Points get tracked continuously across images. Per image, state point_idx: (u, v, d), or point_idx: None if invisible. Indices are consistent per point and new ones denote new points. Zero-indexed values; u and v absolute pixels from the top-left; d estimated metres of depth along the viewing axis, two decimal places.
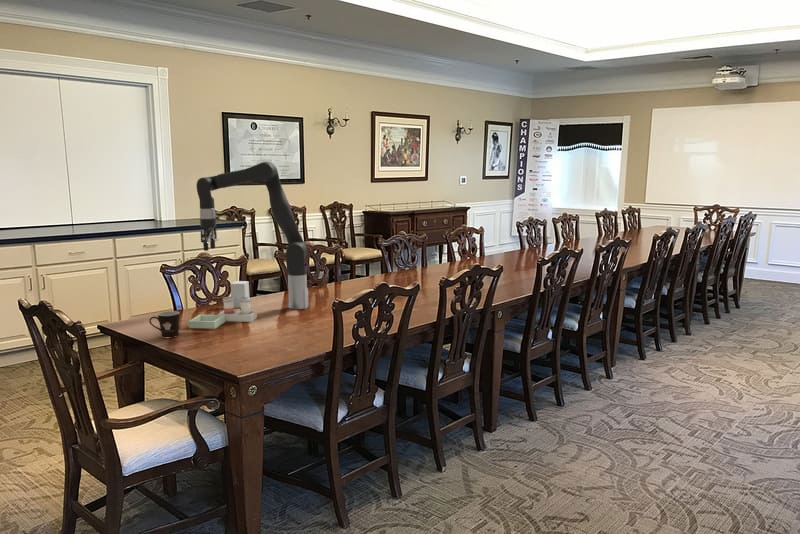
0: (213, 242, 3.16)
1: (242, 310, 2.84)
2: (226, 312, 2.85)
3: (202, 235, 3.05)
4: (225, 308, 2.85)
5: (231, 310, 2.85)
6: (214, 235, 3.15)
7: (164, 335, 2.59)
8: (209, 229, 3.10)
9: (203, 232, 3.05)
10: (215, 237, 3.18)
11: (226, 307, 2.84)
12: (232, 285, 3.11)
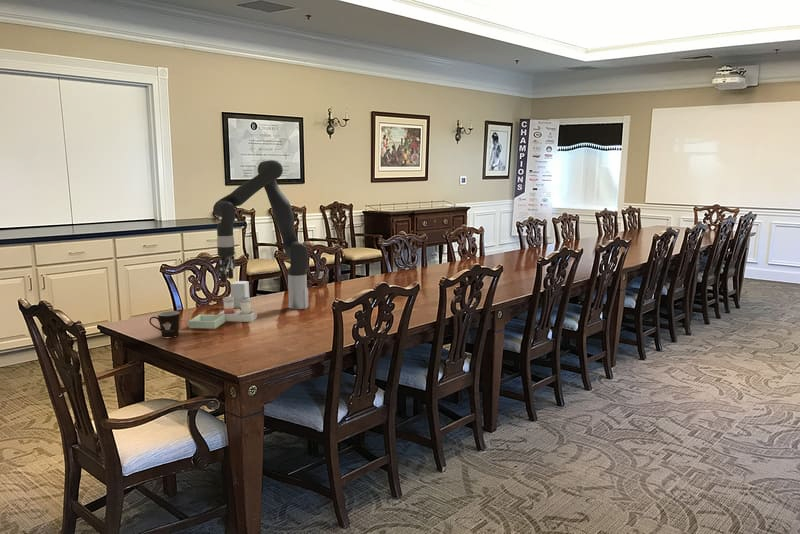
0: (231, 272, 2.88)
1: (242, 310, 2.84)
2: (226, 312, 2.85)
3: (220, 265, 2.76)
4: (225, 308, 2.85)
5: (231, 310, 2.85)
6: (232, 264, 2.86)
7: (164, 335, 2.59)
8: (227, 258, 2.81)
9: (221, 262, 2.76)
10: (233, 266, 2.89)
11: (226, 307, 2.84)
12: (232, 285, 3.11)
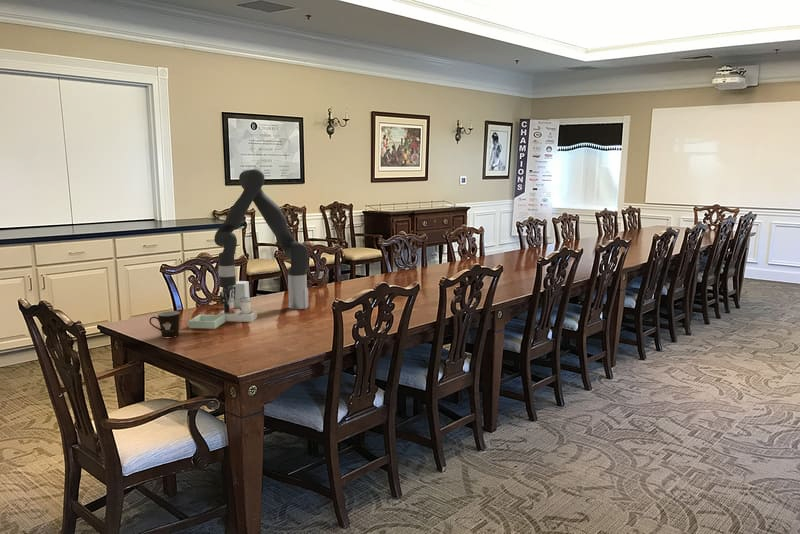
0: None
1: (242, 310, 2.84)
2: None
3: (222, 297, 2.80)
4: None
5: (231, 310, 2.85)
6: (233, 294, 2.88)
7: (164, 335, 2.59)
8: (229, 287, 2.84)
9: (223, 294, 2.79)
10: None
11: None
12: None
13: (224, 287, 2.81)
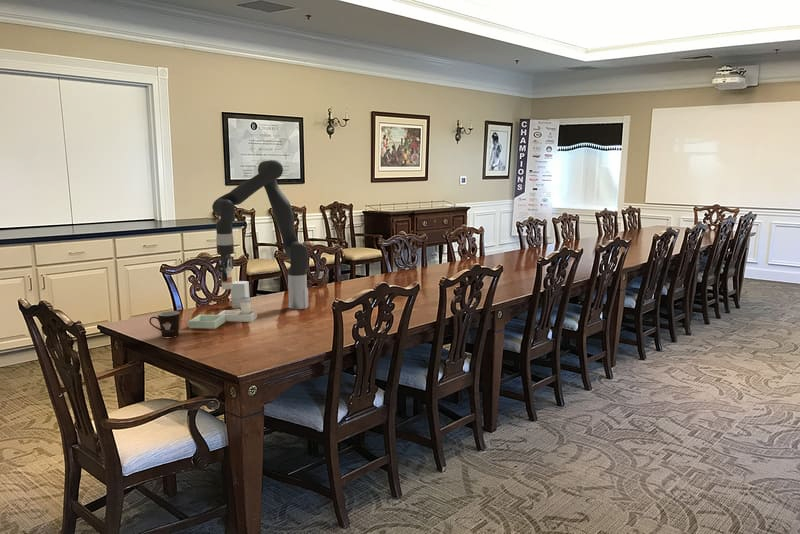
0: None
1: (242, 310, 2.84)
2: None
3: (220, 266, 2.77)
4: None
5: (229, 279, 2.83)
6: (231, 264, 2.85)
7: (164, 335, 2.59)
8: (226, 256, 2.81)
9: (220, 263, 2.76)
10: (231, 266, 2.87)
11: None
12: (232, 285, 3.11)
13: (222, 255, 2.79)
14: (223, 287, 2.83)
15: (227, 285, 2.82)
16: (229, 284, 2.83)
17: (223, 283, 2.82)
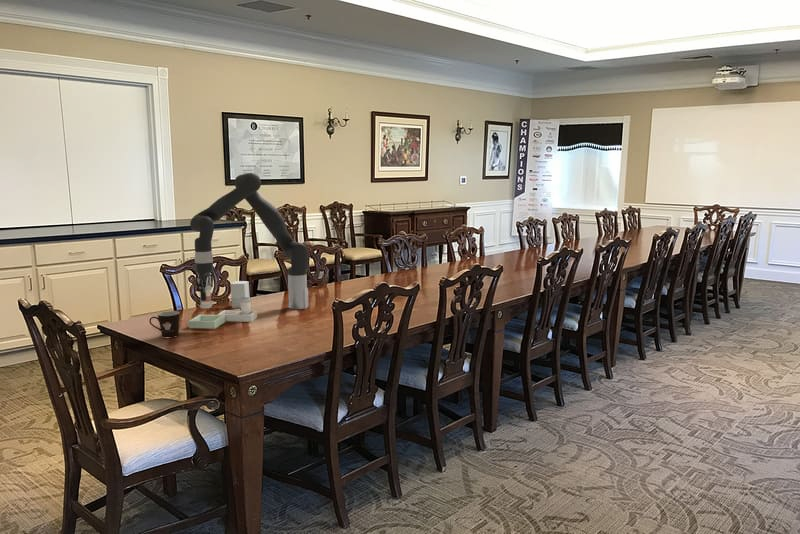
0: None
1: (242, 310, 2.84)
2: None
3: (198, 284, 2.68)
4: None
5: (208, 298, 2.74)
6: (210, 282, 2.76)
7: (164, 335, 2.59)
8: (205, 274, 2.72)
9: (199, 281, 2.67)
10: (211, 285, 2.79)
11: None
12: (232, 285, 3.11)
13: (200, 274, 2.70)
14: (202, 306, 2.74)
15: (206, 304, 2.74)
16: (208, 303, 2.74)
17: (202, 302, 2.74)
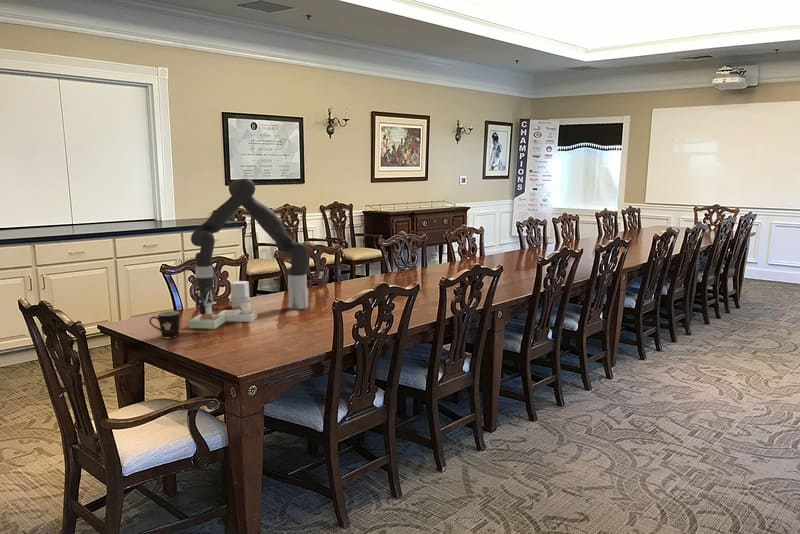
0: None
1: (242, 310, 2.84)
2: (204, 318, 2.75)
3: (198, 297, 2.68)
4: None
5: (209, 316, 2.75)
6: (212, 295, 2.78)
7: (164, 335, 2.59)
8: (206, 289, 2.73)
9: (199, 294, 2.68)
10: (213, 297, 2.81)
11: None
12: (232, 285, 3.11)
13: (201, 288, 2.71)
14: None
15: None
16: (209, 320, 2.75)
17: (203, 320, 2.75)
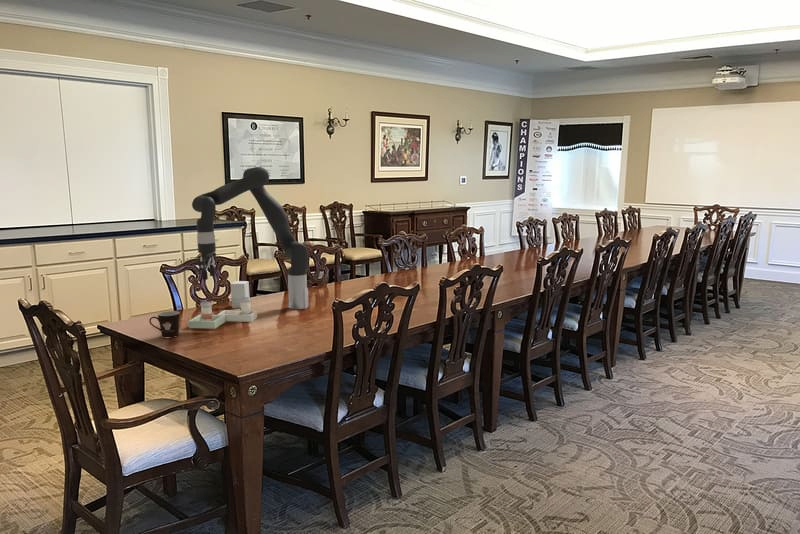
0: (213, 269, 2.79)
1: (242, 310, 2.84)
2: (204, 318, 2.75)
3: (200, 262, 2.68)
4: (203, 313, 2.74)
5: (209, 316, 2.75)
6: (214, 261, 2.77)
7: (164, 335, 2.59)
8: (208, 255, 2.73)
9: (201, 259, 2.67)
10: (215, 263, 2.81)
11: (203, 313, 2.74)
12: (232, 285, 3.11)
13: (203, 254, 2.70)
14: None
15: None
16: (209, 320, 2.75)
17: (203, 320, 2.75)
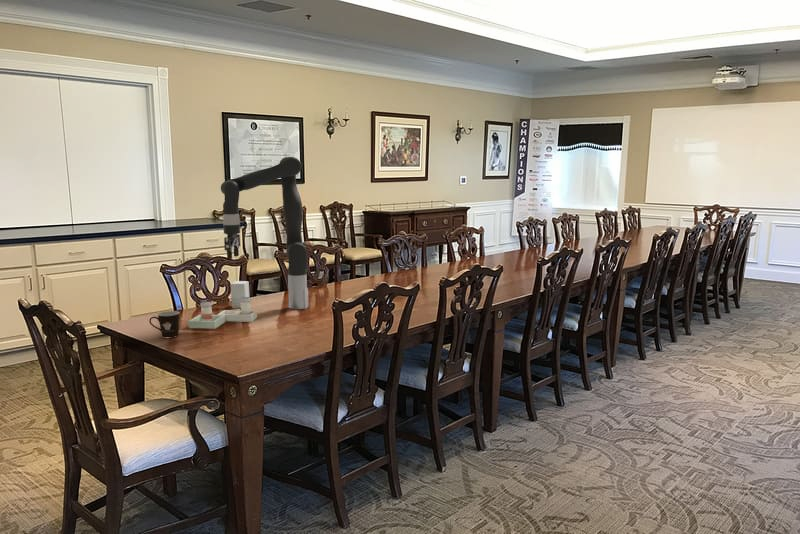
0: (237, 250, 2.97)
1: (242, 310, 2.84)
2: (204, 318, 2.75)
3: (226, 242, 2.86)
4: (203, 313, 2.74)
5: (209, 316, 2.75)
6: (238, 242, 2.96)
7: (164, 335, 2.59)
8: (233, 236, 2.91)
9: (227, 239, 2.85)
10: (239, 244, 2.99)
11: (203, 313, 2.74)
12: (232, 285, 3.11)
13: (228, 235, 2.88)
14: None
15: None
16: (209, 320, 2.75)
17: (203, 320, 2.75)
